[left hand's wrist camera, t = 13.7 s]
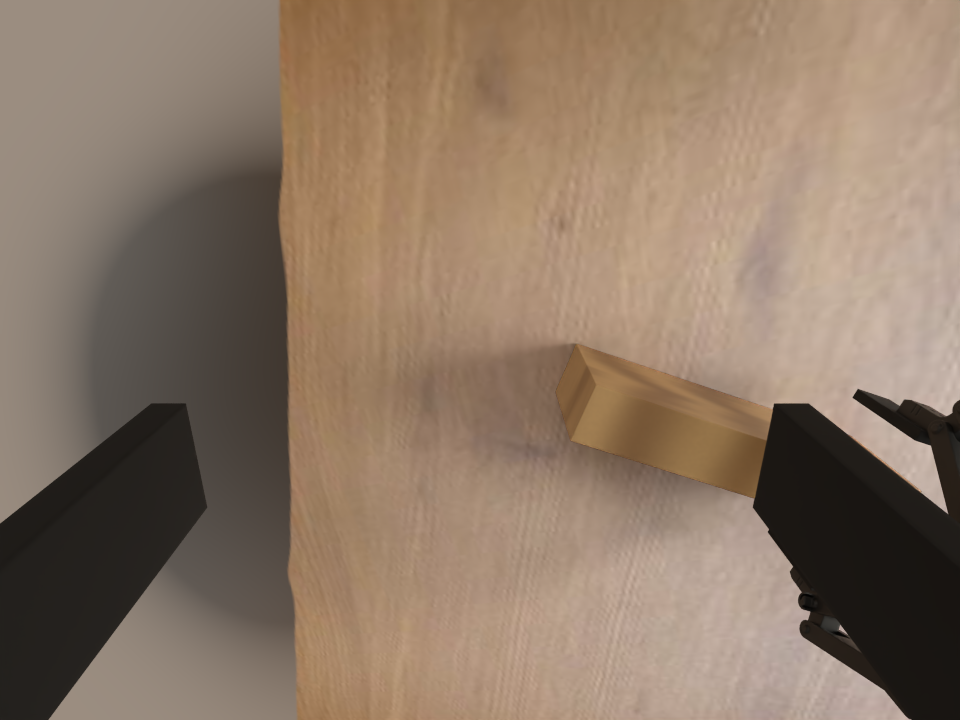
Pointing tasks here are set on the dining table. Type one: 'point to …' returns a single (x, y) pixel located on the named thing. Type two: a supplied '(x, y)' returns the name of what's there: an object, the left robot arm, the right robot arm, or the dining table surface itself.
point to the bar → (664, 421)
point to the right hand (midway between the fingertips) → (825, 468)
